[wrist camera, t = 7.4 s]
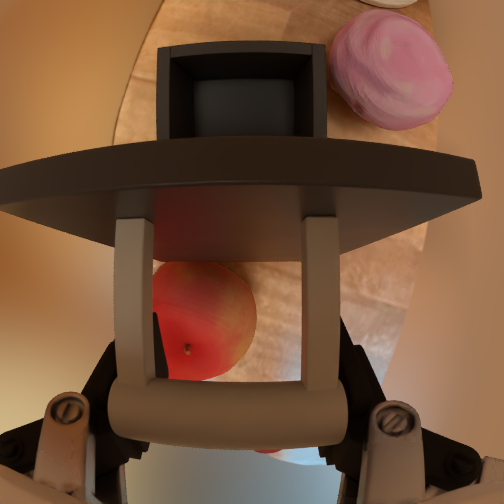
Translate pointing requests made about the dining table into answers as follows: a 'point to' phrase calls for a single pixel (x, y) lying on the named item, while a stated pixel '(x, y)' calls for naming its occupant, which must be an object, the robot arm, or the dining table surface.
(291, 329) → the dining table surface
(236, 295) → the apple
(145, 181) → the bin lid
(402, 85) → the cupcake
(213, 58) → the open square bin
